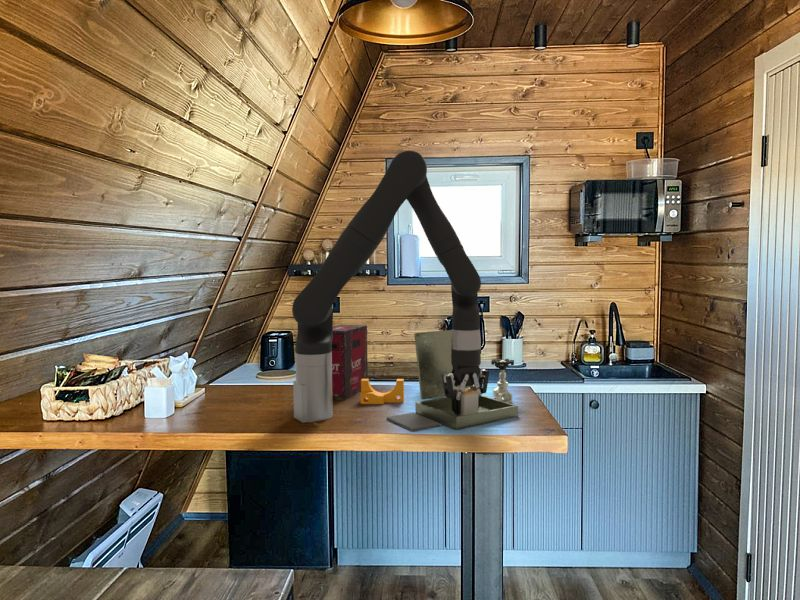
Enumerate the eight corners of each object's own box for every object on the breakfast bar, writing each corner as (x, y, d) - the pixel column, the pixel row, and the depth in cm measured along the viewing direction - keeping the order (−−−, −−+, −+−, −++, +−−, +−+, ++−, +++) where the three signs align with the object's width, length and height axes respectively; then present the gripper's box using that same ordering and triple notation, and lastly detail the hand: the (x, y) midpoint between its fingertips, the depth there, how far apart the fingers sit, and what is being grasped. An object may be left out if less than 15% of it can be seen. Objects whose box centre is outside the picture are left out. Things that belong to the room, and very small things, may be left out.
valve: (495, 406, 153) (495, 362, 152) (487, 400, 159) (487, 358, 159) (518, 405, 154) (518, 362, 153) (509, 399, 160) (510, 358, 160)
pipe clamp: (360, 404, 156) (360, 381, 156) (362, 400, 161) (362, 378, 160) (403, 404, 156) (402, 382, 155) (403, 401, 160) (403, 378, 160)
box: (342, 386, 180) (341, 324, 178) (367, 388, 177) (367, 325, 176) (318, 397, 164) (316, 330, 163) (345, 400, 161) (344, 331, 160)
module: (464, 416, 140) (464, 393, 140) (453, 412, 144) (453, 390, 144) (478, 414, 143) (478, 391, 142) (467, 410, 146) (467, 387, 146)
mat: (412, 431, 130) (412, 428, 130) (386, 419, 140) (386, 417, 140) (440, 425, 134) (440, 423, 134) (413, 414, 144) (413, 412, 144)
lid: (415, 333, 148) (412, 333, 149) (422, 399, 146) (418, 399, 148) (462, 329, 156) (458, 329, 157) (469, 392, 154) (465, 392, 156)
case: (456, 430, 131) (456, 383, 130) (407, 410, 149) (407, 369, 149) (518, 417, 141) (518, 374, 140) (465, 400, 159) (465, 362, 159)
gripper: (452, 351, 135) (452, 419, 136) (497, 346, 143) (496, 411, 144) (434, 347, 142) (434, 412, 143) (478, 342, 149) (478, 405, 150)
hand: (466, 411), depth 143 cm, fingers open, 5 cm apart
